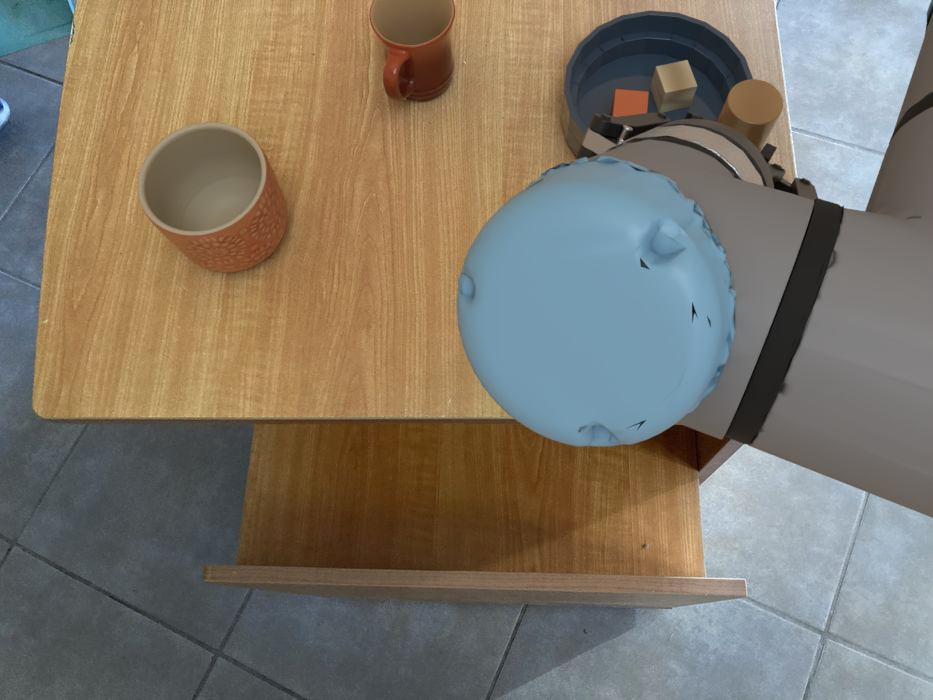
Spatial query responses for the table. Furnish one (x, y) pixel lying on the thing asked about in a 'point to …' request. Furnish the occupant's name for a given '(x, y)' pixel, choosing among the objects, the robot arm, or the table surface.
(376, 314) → the table surface
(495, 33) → the table surface
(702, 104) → the bowl
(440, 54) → the mug
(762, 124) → the pestle
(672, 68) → the cream block
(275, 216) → the planter
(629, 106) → the terracotta block
